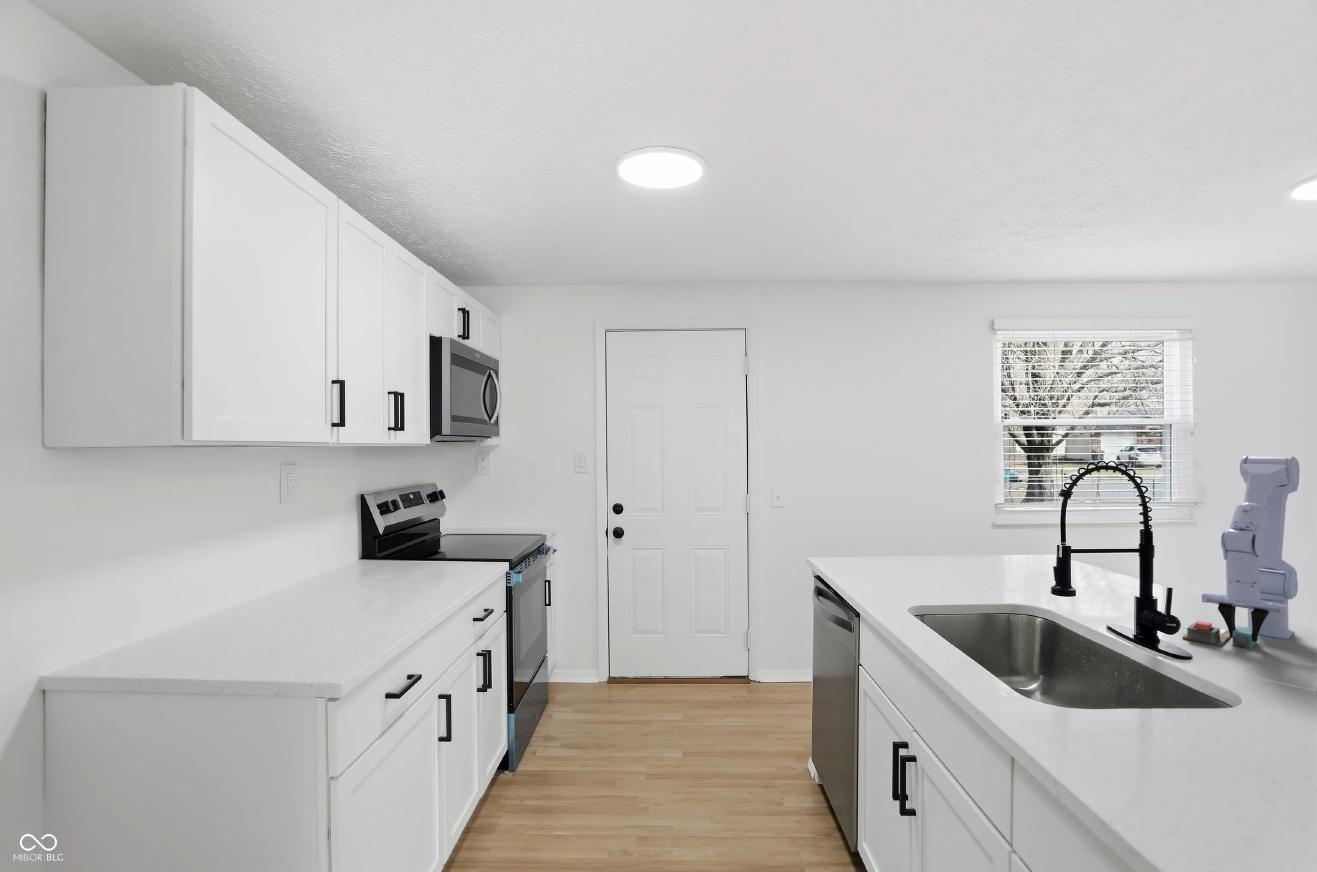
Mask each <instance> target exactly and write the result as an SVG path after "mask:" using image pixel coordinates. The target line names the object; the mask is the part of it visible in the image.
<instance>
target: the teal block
mask: <svg viewBox="0 0 1317 872" xmlns="http://www.w3.org/2000/svg"><path fill="white" fill-rule="evenodd" d="M1235 627H1236V628H1235V629H1234V630H1233V638H1232V646H1237V647H1241V648H1246V649H1247V648H1248V649H1253V647H1254V646H1255V645H1256V644H1257V641H1256V642H1254V641H1252V628H1246V627H1247V626H1246V627H1245V626H1239V625H1238V626H1235Z"/></svg>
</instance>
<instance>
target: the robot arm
mask: <svg viewBox="0 0 1317 872" xmlns="http://www.w3.org/2000/svg"><path fill="white" fill-rule="evenodd" d="M1300 471H1301V470H1300V463H1299V460H1298V459H1297V458H1296V457H1295V456H1294V455H1292V456H1291V455H1290V456H1254V455H1244V456H1243V457H1242V458H1241V459H1240V464H1239V472H1240V476H1241V478H1242V480H1243V482H1244V483H1245V484H1246V487H1245V491H1244V492H1245V494H1244V498H1243V503H1240V504H1239V505H1237V506H1236V507H1235V509H1234V511H1233V512H1234V513H1233V516H1232V519H1231V521H1230V522H1231V523H1230V525H1229V528H1228V529H1227V530H1225V529H1224V530H1223V532H1222V533H1221V537H1220V538H1221V539H1220V545H1221V549H1222V553H1223V557H1222V558H1223V560H1225V569H1226V570H1225V572H1226V573H1225V578H1226V580H1225V581H1226V582H1225V583H1226V587H1225V589H1226V591H1225V592H1226V594H1213V593H1206V592H1203V593H1201V603H1206V604H1209V603H1210V604H1211V603H1212V604H1216V605H1218V607H1217V610H1218V612H1219V614H1220V615H1221V617H1222V619H1223V620H1224V622H1225V624H1226V627H1227V631H1229V634H1230V637H1231V638H1232V639H1233V630H1234V629H1235V628H1236V627H1237V626H1236V609H1237V608H1240V609H1241V608H1243V609H1247V626H1246V628H1252V641H1254V642H1256V643H1257V642H1258V640H1259V636H1265V637H1270V638H1277V639H1284V640H1289V639H1290V638H1291V637H1292V635H1293V634H1294V633H1295V630H1294V629H1290V628H1289V600H1293V599H1294V598H1296V596H1297V595H1298V591H1299V589H1298V588H1299V587H1298V586H1299V584H1298V583H1299V582H1298V572H1297V569H1296V568H1295V567H1294V566H1293V565H1291V564H1290V563H1288V562H1287V561H1285V560H1284V559H1283V546H1284V535H1285V534H1284V533H1285V520H1286V519H1285V518H1286V509H1287V508H1286V507H1287V500H1288V496H1289V494H1291V493H1294V492H1297V491H1298V487H1299V484H1300Z"/></svg>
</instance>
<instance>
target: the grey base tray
mask: <svg viewBox="0 0 1317 872" xmlns="http://www.w3.org/2000/svg"><path fill="white" fill-rule="evenodd" d="M1186 630H1187V631H1186V633H1185V634H1184V635H1183V636H1182V640H1185V641H1191V642H1196V643H1201V644H1206V645H1212V646H1216V647H1223V645H1225V643H1227V642H1228V641H1229V640H1230V639H1231V638H1232V637H1230V634H1229V630H1228V629H1222V628H1219V627H1214V626H1212V631H1207V630H1202V629H1196V628H1195V623H1191V624H1190V625H1189V626H1188V627H1187V629H1186Z"/></svg>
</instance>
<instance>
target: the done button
mask: <svg viewBox="0 0 1317 872" xmlns="http://www.w3.org/2000/svg"><path fill="white" fill-rule="evenodd" d="M1194 624H1195V628H1196V629H1202V630H1207V631H1212V627H1213V623H1212V622H1209V621H1200V620H1197V621H1195V622H1194Z"/></svg>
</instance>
